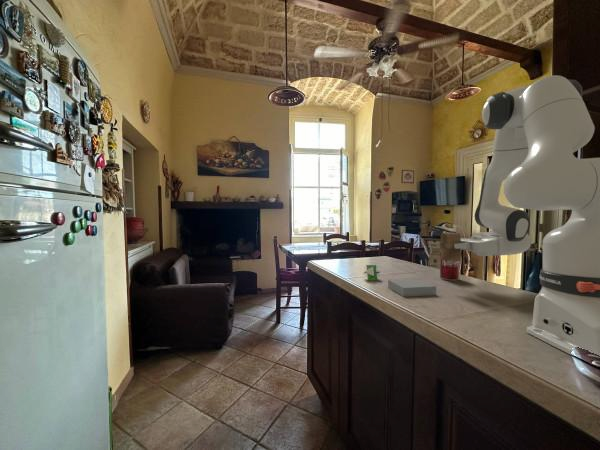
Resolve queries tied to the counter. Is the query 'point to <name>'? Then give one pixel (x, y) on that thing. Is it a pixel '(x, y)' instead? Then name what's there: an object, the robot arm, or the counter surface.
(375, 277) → the geometric puzzle
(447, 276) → the soda can
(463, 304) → the counter surface
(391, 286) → the slab
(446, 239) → the pillar
